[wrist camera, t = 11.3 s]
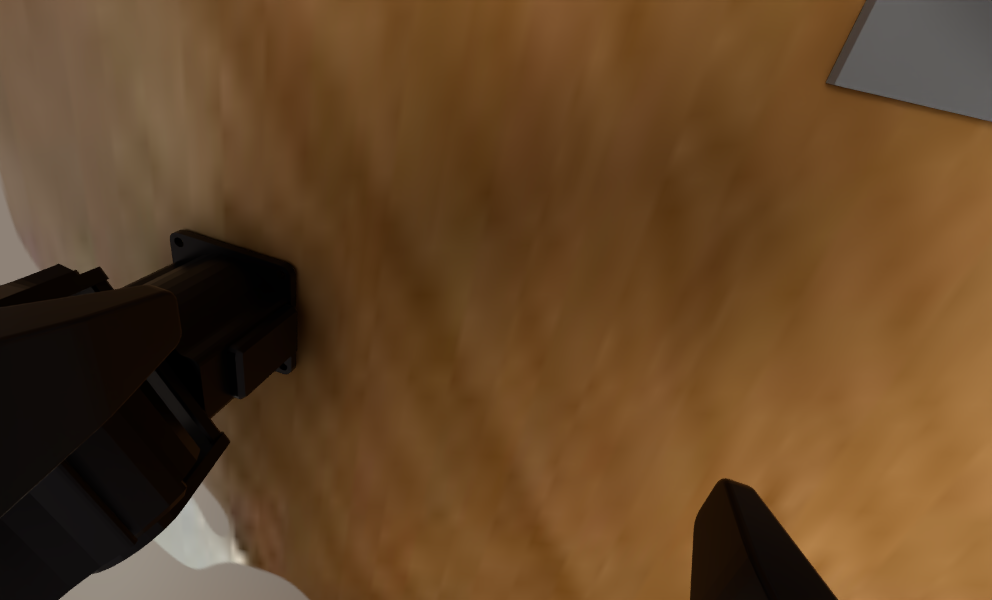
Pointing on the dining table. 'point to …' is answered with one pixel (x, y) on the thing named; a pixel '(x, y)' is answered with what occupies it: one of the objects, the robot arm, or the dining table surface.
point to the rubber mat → (922, 54)
